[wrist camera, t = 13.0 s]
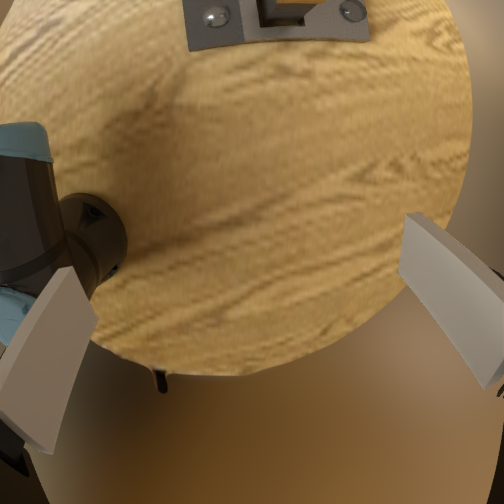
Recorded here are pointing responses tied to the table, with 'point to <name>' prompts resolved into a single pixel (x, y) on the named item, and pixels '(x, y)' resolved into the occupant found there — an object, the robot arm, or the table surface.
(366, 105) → the table surface
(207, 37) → the plate
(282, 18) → the link pin
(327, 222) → the table surface
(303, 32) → the plate
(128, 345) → the table surface
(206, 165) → the table surface
